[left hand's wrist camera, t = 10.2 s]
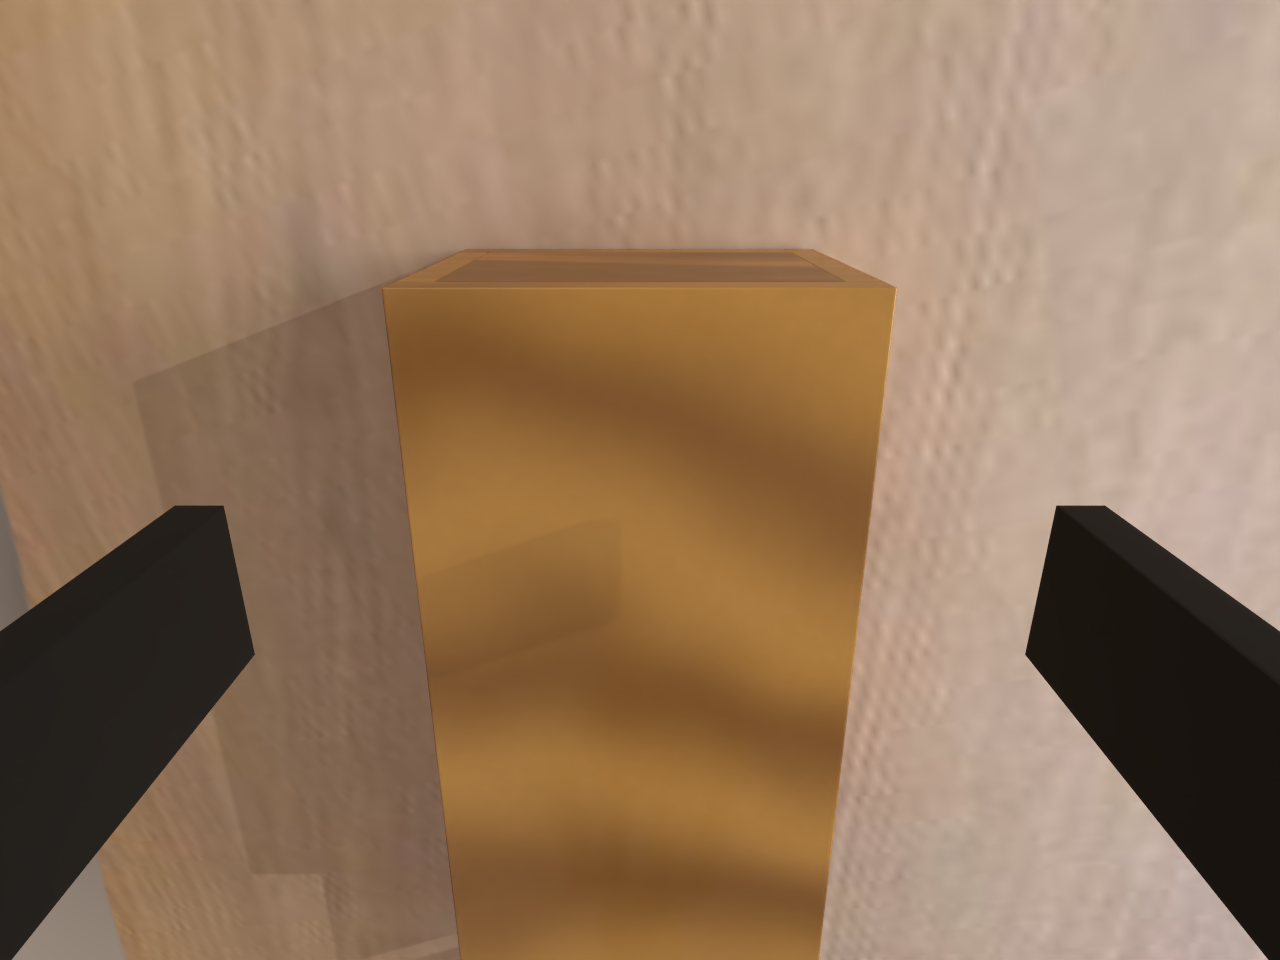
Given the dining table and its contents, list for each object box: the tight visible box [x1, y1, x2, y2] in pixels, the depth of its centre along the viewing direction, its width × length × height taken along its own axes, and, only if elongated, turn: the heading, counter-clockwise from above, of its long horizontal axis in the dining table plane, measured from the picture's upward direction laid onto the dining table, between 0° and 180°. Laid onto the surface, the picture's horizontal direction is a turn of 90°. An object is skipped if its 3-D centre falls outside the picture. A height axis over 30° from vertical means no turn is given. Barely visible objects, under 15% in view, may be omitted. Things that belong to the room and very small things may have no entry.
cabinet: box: [382, 250, 897, 960], centre depth 25 cm, size 22×11×8 cm, turn 0°
